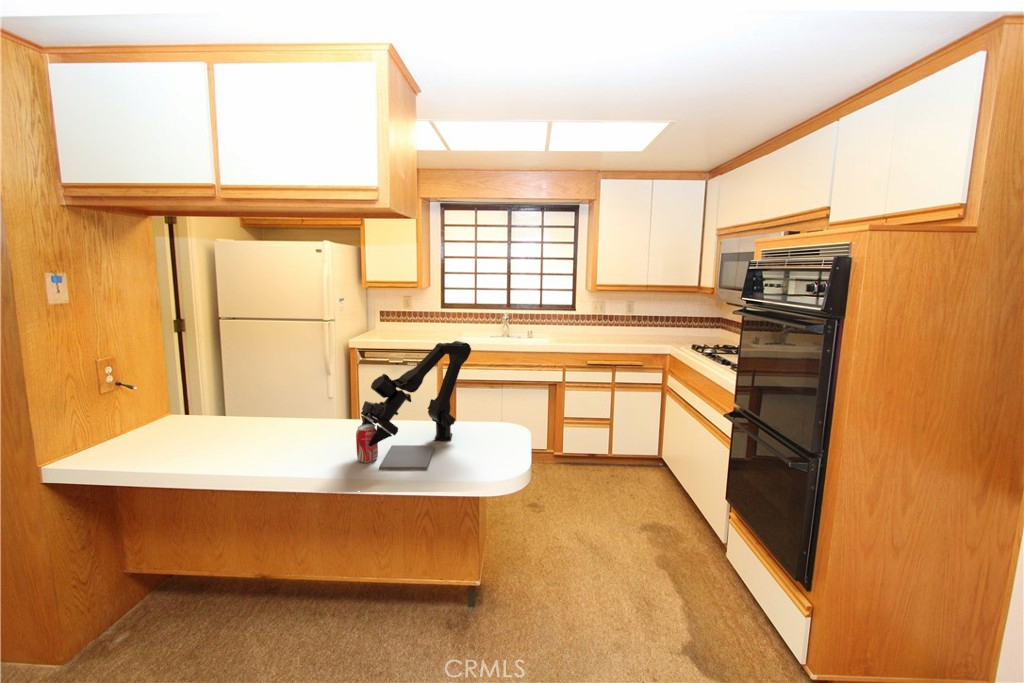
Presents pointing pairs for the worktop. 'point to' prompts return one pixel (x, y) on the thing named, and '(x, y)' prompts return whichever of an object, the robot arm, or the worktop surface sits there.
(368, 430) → the soda can
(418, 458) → the charcoal mat
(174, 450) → the worktop surface
